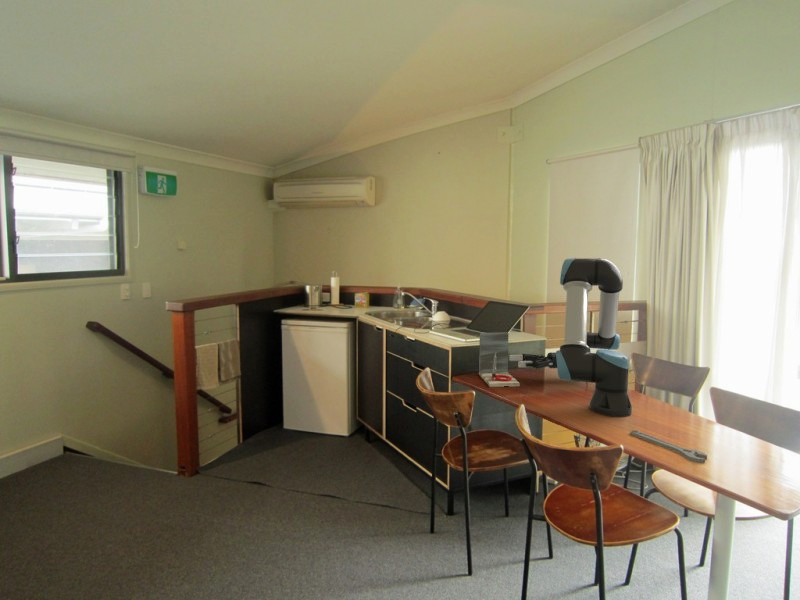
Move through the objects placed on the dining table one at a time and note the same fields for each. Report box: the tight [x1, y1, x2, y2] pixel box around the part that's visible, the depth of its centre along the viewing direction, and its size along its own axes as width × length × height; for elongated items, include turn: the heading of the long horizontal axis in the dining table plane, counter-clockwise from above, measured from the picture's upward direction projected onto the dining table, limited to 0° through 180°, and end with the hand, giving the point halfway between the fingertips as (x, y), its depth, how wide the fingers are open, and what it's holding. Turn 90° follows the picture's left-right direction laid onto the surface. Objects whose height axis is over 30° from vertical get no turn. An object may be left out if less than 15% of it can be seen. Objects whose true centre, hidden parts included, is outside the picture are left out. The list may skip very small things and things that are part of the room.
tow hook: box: [492, 352, 513, 381], centre depth 224 cm, size 8×13×9 cm
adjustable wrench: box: [630, 429, 708, 464], centre depth 150 cm, size 25×6×2 cm, turn 22°
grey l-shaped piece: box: [478, 331, 521, 388], centre depth 227 cm, size 22×14×22 cm, turn 3°
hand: (513, 361), depth 224 cm, fingers open, 13 cm apart
